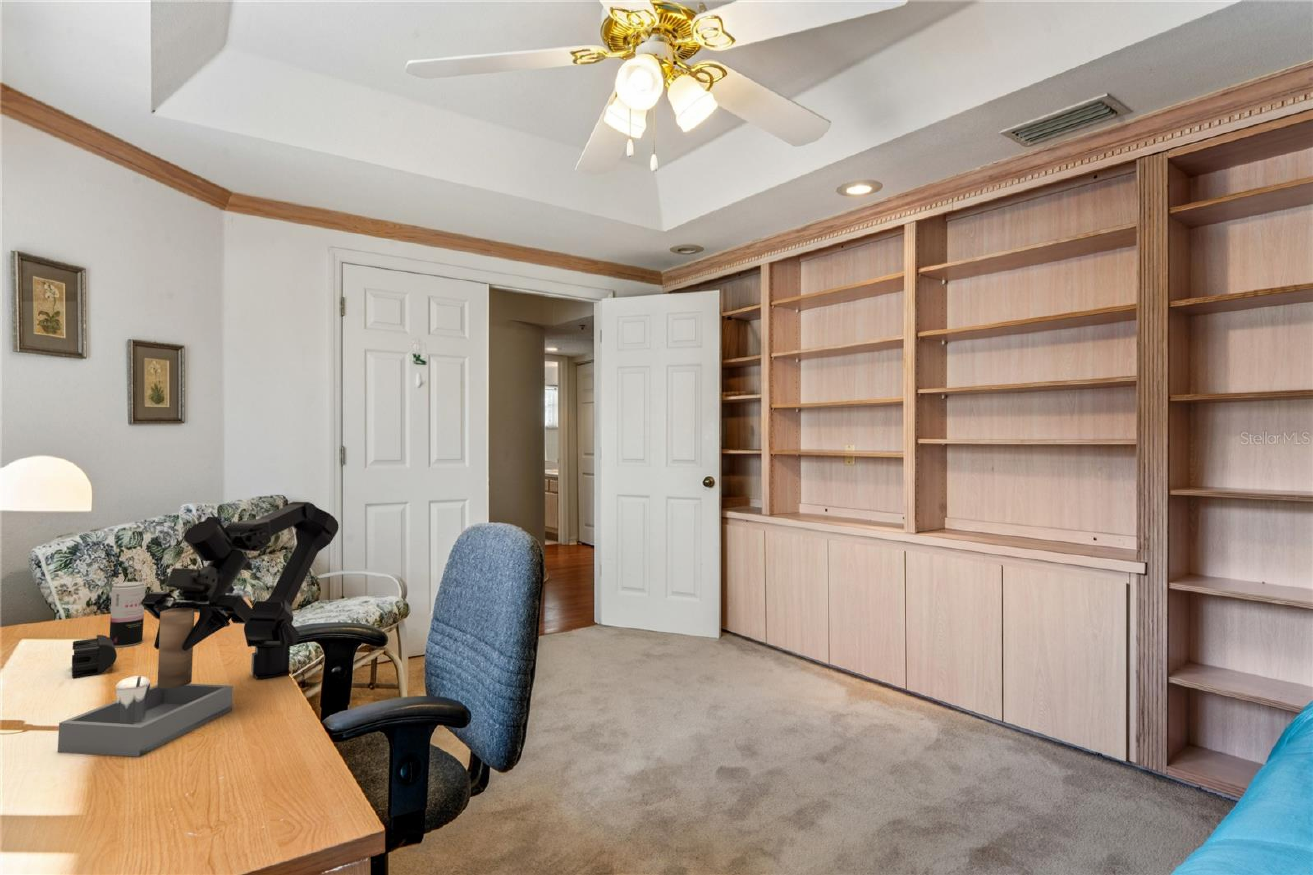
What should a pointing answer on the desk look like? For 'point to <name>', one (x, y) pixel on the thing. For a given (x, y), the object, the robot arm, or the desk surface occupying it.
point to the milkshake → (132, 700)
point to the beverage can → (127, 614)
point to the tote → (163, 721)
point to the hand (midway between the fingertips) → (170, 648)
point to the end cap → (92, 656)
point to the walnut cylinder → (175, 648)
